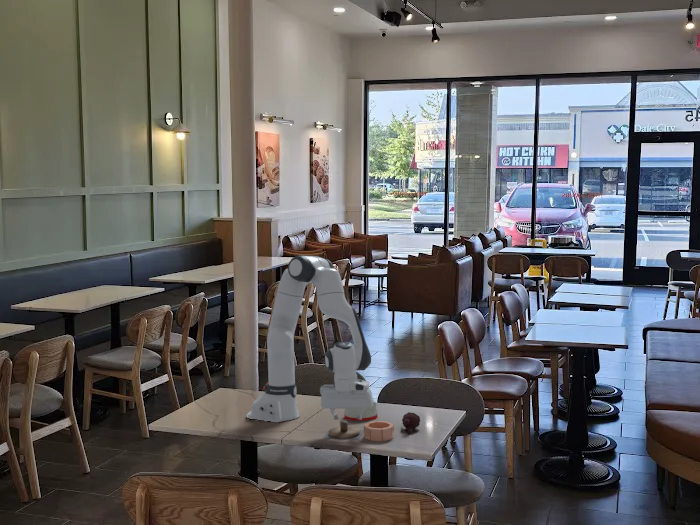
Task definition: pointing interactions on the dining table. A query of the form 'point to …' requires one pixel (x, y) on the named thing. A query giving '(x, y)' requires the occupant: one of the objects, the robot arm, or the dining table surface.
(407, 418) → the icecream
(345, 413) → the kitchen timer
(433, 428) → the dining table surface
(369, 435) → the bowl
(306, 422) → the dining table surface
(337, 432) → the lid
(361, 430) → the mat
